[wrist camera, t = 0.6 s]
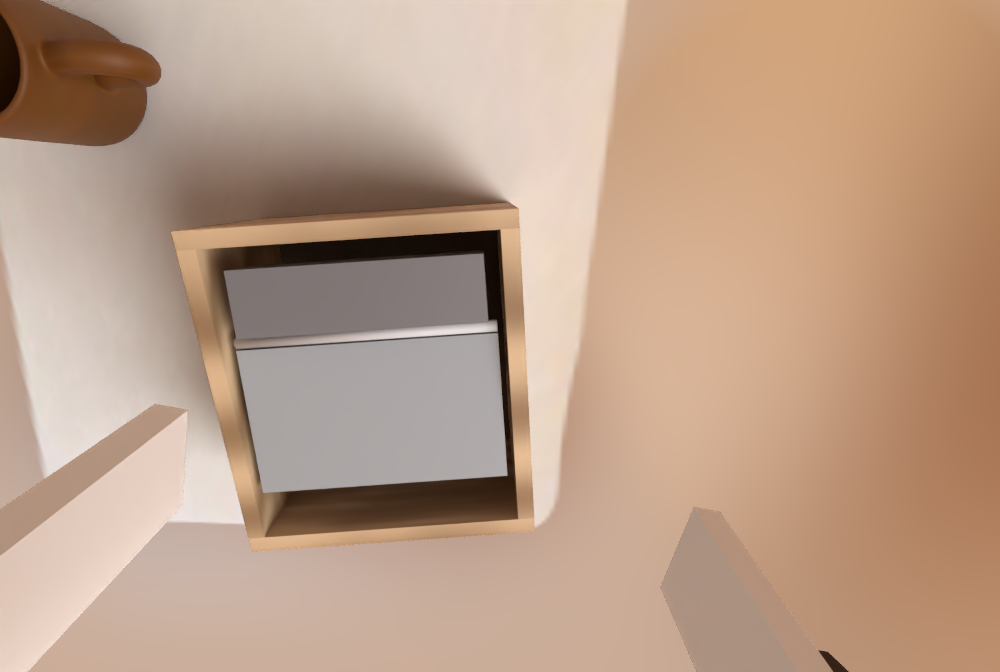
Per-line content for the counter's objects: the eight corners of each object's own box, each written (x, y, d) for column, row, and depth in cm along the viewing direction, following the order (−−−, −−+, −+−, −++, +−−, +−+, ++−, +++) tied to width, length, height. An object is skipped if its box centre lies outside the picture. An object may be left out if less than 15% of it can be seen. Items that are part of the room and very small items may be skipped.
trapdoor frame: (259, 218, 35) (171, 231, 25) (509, 202, 36) (518, 208, 26) (308, 463, 41) (251, 551, 31) (522, 448, 41) (534, 531, 31)
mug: (209, 24, 32) (101, -40, 23) (227, 149, 34) (135, 135, 25) (19, 20, 32) (-167, -46, 23) (49, 147, 34) (-110, 132, 25)
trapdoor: (247, 265, 30) (214, 271, 26) (492, 249, 30) (492, 253, 27) (283, 468, 33) (258, 498, 30) (505, 452, 33) (507, 480, 30)
